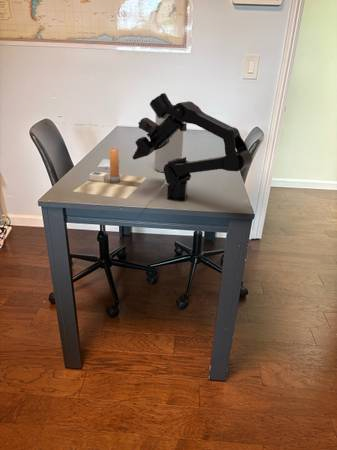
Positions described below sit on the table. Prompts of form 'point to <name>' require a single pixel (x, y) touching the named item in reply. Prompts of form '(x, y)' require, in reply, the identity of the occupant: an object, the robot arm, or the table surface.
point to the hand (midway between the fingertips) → (139, 155)
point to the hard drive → (104, 164)
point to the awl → (114, 166)
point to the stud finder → (98, 176)
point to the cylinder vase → (168, 149)
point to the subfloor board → (112, 186)
